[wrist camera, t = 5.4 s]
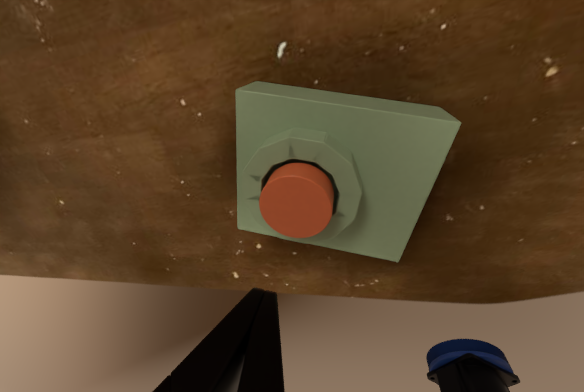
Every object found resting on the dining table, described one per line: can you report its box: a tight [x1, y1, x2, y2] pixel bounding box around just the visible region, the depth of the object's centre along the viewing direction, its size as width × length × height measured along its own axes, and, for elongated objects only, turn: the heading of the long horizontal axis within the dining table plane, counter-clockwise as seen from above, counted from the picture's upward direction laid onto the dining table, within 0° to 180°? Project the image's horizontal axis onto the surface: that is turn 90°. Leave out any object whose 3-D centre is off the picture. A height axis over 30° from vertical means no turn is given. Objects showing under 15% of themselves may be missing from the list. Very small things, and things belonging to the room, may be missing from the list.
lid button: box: [259, 162, 334, 238], centre depth 14 cm, size 4×4×2 cm
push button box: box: [236, 81, 461, 262], centre depth 17 cm, size 12×10×6 cm
